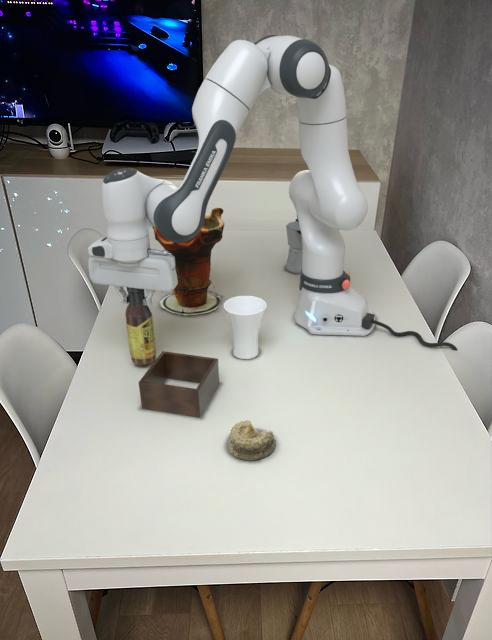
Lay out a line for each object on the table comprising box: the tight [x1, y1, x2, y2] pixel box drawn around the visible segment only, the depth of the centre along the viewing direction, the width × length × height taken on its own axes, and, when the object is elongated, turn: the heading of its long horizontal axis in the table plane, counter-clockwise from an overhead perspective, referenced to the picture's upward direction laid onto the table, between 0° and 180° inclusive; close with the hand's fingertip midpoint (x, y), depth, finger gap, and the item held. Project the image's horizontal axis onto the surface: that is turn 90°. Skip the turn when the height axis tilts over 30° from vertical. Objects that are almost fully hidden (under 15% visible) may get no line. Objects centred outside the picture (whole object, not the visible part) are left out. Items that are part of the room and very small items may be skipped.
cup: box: [223, 295, 268, 360], centre depth 151 cm, size 10×10×14 cm
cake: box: [226, 419, 277, 462], centre depth 123 cm, size 10×10×5 cm
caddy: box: [138, 350, 220, 418], centre depth 137 cm, size 14×14×7 cm
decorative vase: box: [151, 207, 225, 317], centre depth 171 cm, size 21×23×28 cm
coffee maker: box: [285, 216, 302, 275], centre depth 196 cm, size 15×9×18 cm, turn 179°
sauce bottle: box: [125, 287, 157, 366], centre depth 145 cm, size 7×6×20 cm
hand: (136, 303), depth 142 cm, fingers closed on sauce bottle, 4 cm apart
